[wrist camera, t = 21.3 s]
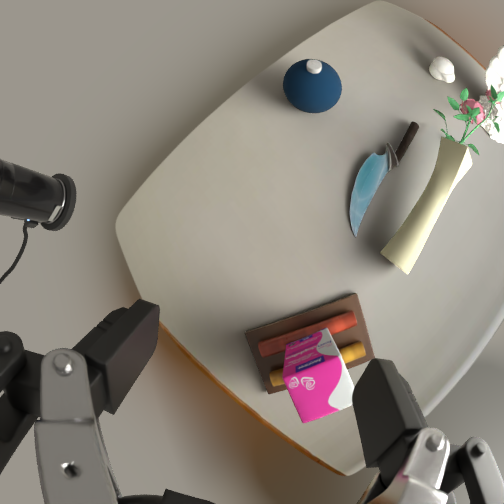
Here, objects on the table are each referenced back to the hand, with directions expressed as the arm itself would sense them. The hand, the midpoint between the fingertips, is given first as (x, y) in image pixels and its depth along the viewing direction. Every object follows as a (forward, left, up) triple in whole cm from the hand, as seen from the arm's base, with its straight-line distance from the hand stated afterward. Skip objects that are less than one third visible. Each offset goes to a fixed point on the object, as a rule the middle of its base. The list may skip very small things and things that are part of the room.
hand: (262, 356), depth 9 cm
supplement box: (+1, -9, -25) cm, 27 cm away
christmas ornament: (+14, +25, -28) cm, 40 cm away
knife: (+19, +11, -28) cm, 36 cm away
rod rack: (+1, -9, -28) cm, 29 cm away
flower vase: (+29, +7, -28) cm, 41 cm away
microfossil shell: (+42, +25, -28) cm, 56 cm away
